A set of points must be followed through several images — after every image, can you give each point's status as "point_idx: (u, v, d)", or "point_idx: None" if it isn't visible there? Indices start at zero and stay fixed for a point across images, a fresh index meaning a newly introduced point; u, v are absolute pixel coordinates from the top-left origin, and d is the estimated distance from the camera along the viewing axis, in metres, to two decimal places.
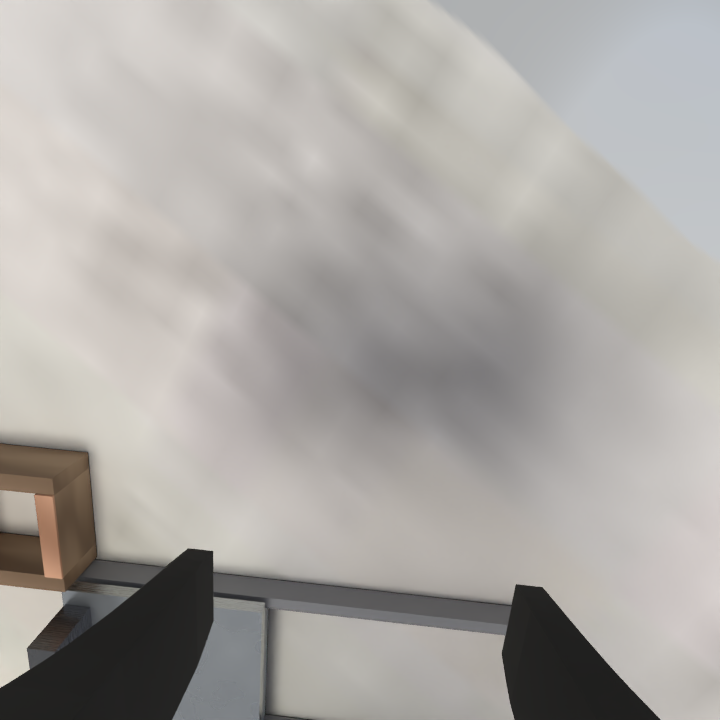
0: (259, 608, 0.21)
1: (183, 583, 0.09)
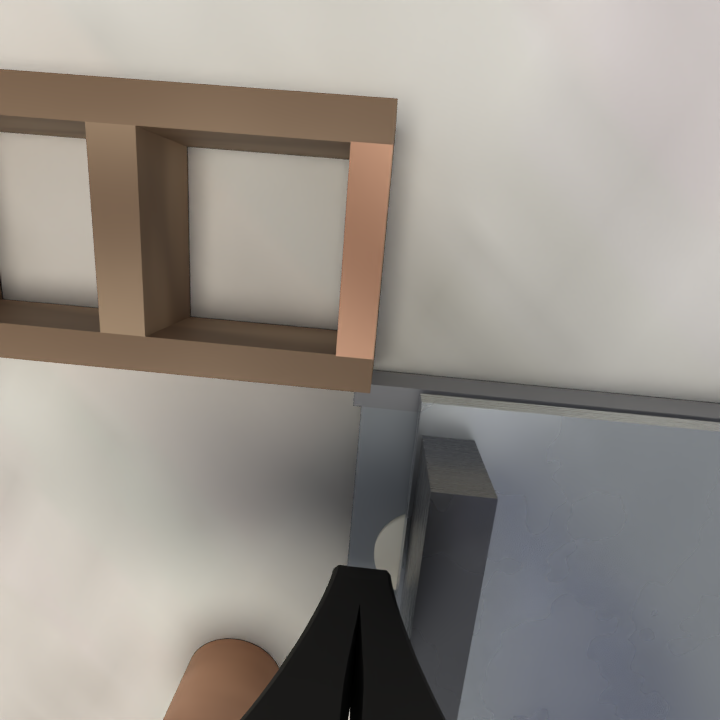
0: None
1: (358, 603, 0.09)
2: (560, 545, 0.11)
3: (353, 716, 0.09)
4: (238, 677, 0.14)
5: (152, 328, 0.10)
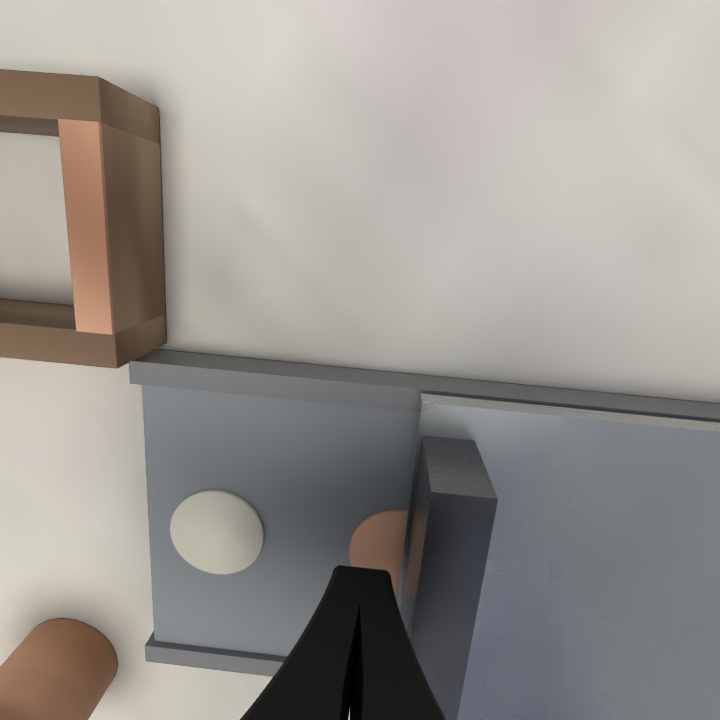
0: None
1: (358, 603, 0.09)
2: (560, 545, 0.11)
3: (353, 716, 0.09)
4: (57, 654, 0.14)
5: None
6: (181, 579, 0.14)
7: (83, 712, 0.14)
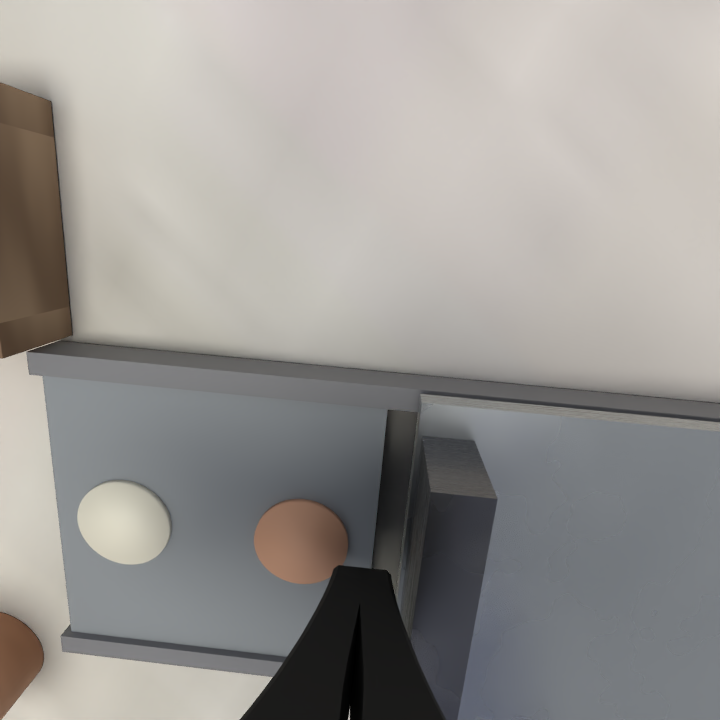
0: None
1: (358, 603, 0.09)
2: (559, 545, 0.11)
3: (353, 716, 0.09)
4: None
5: None
6: (93, 570, 0.14)
7: (0, 702, 0.14)
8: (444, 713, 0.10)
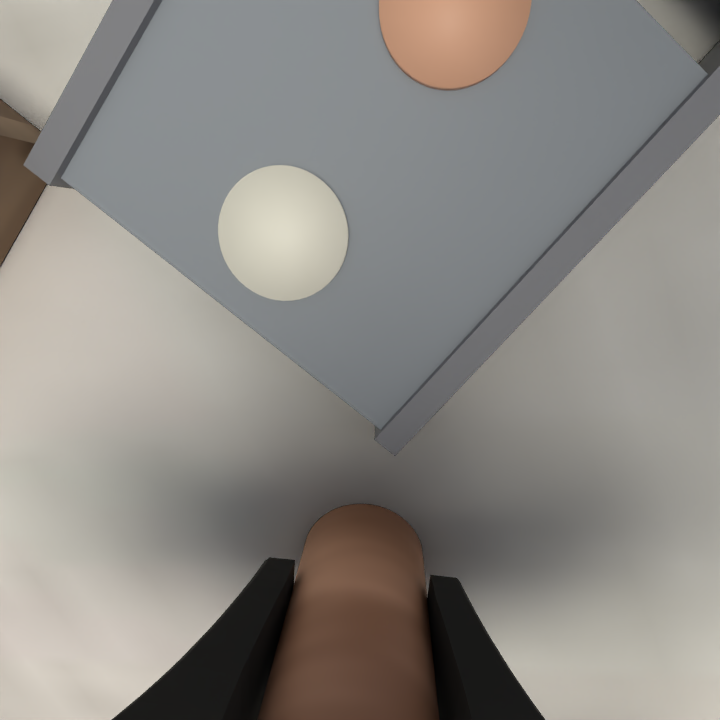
0: None
1: (278, 594, 0.09)
2: None
3: None
4: (324, 541, 0.11)
5: None
6: (321, 332, 0.10)
7: (400, 563, 0.10)
8: None
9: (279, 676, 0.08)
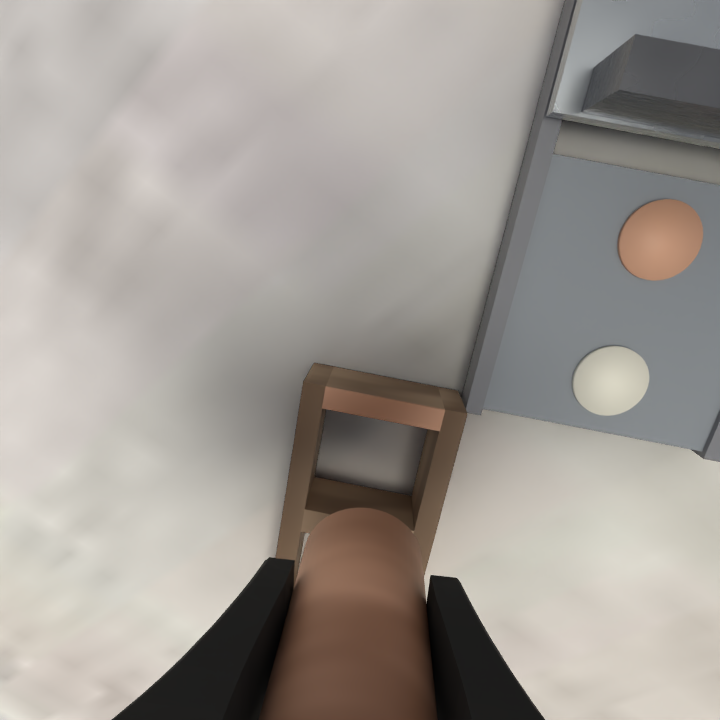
0: None
1: (278, 594, 0.09)
2: None
3: None
4: (322, 546, 0.11)
5: (410, 524, 0.18)
6: (647, 417, 0.17)
7: (397, 566, 0.11)
8: None
9: (277, 682, 0.08)
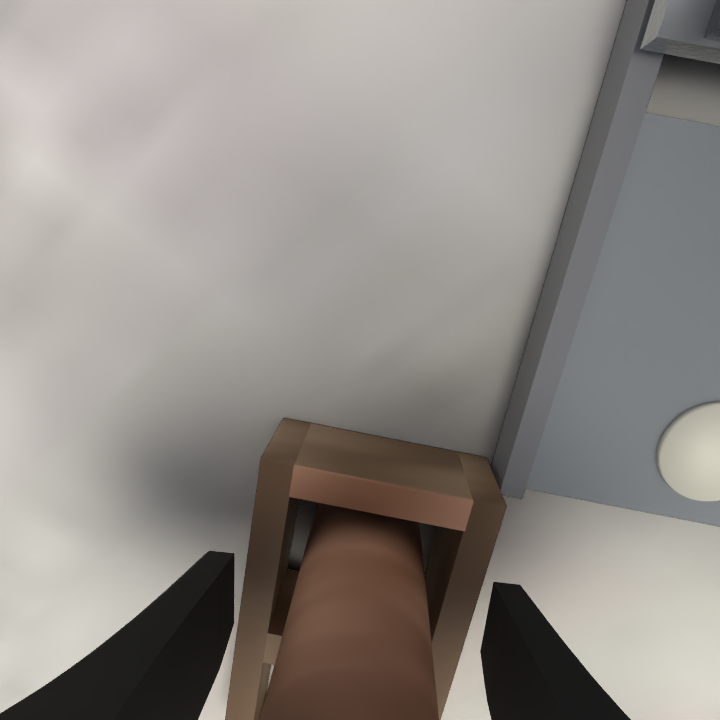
0: None
1: (208, 586, 0.09)
2: None
3: None
4: (330, 512, 0.12)
5: None
6: None
7: (397, 528, 0.12)
8: None
9: (294, 619, 0.09)
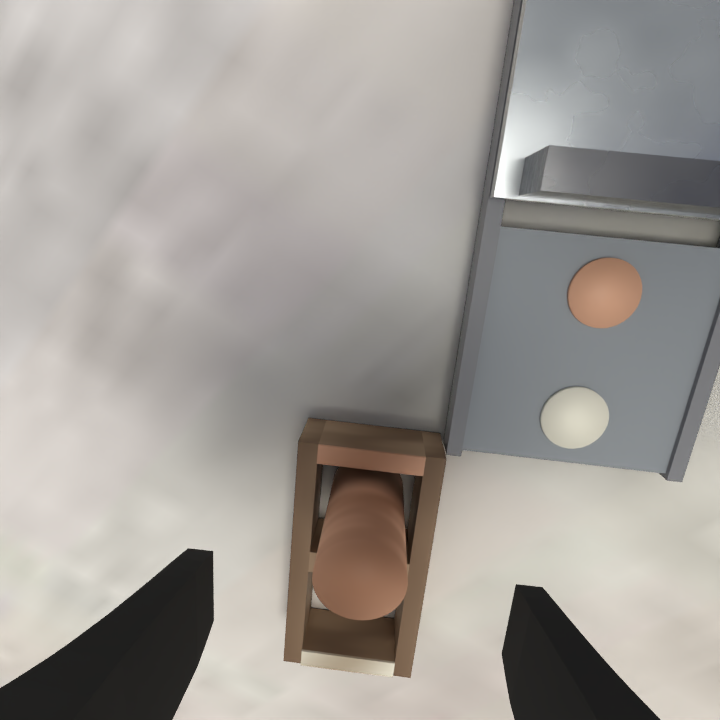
0: None
1: (183, 583, 0.09)
2: (621, 81, 0.15)
3: None
4: (342, 474, 0.20)
5: None
6: (612, 446, 0.19)
7: (384, 480, 0.19)
8: None
9: (325, 528, 0.17)
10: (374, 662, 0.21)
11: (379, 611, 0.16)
